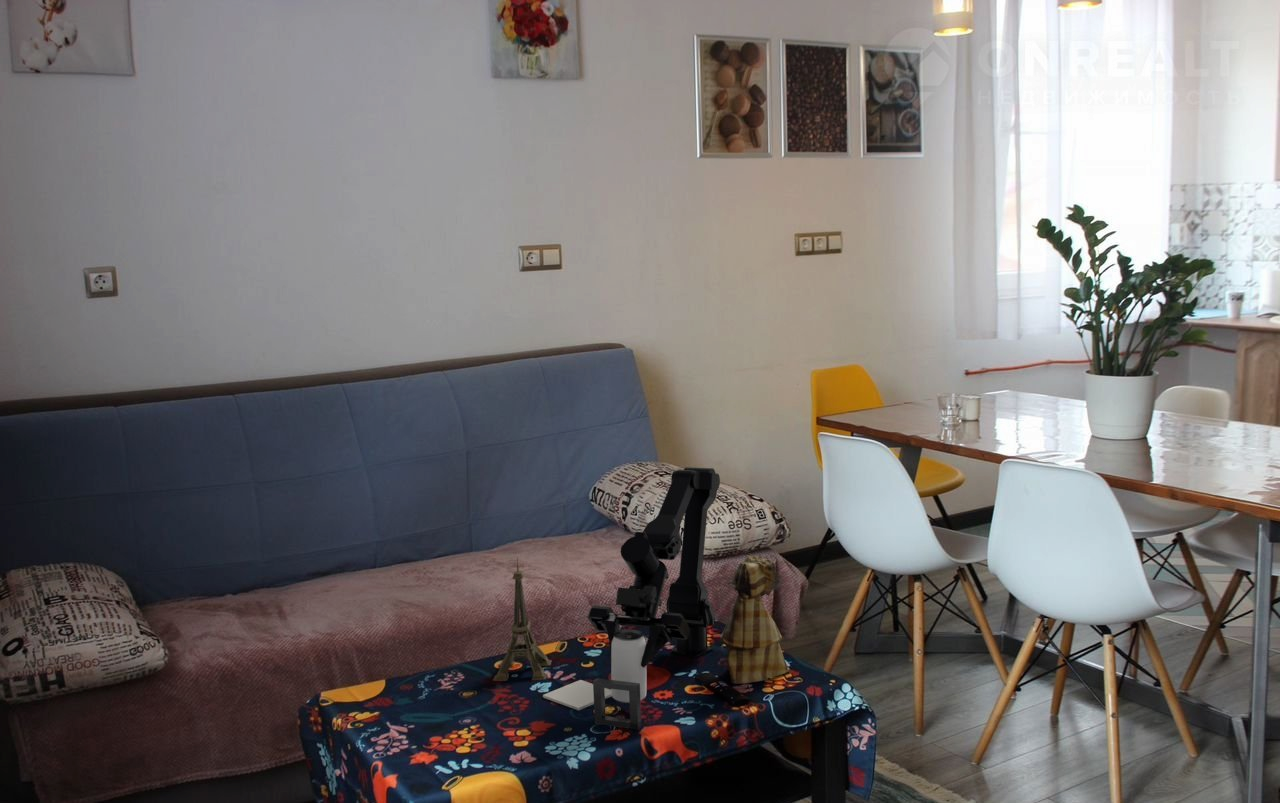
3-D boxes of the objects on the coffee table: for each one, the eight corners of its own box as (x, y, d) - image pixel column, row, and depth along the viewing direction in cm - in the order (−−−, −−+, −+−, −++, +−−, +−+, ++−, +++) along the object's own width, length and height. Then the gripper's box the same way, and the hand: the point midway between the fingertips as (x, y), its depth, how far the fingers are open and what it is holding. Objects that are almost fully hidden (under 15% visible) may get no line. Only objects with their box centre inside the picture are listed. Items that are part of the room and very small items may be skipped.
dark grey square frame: (598, 720, 208) (596, 678, 207) (641, 726, 205) (639, 683, 204) (594, 723, 207) (593, 681, 206) (638, 729, 204) (636, 686, 203)
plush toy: (697, 662, 233) (712, 550, 226) (752, 650, 240) (768, 541, 233) (736, 697, 222) (754, 582, 214) (792, 684, 229) (811, 571, 221)
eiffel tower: (501, 662, 240) (495, 546, 237) (551, 661, 240) (545, 545, 237) (493, 681, 230) (486, 560, 227) (545, 680, 229) (539, 558, 226)
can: (648, 690, 215) (648, 629, 213) (644, 704, 209) (644, 641, 207) (613, 689, 216) (613, 628, 214) (609, 703, 209) (608, 640, 208)
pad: (580, 682, 227) (580, 679, 227) (616, 694, 220) (616, 691, 220) (543, 697, 220) (542, 695, 220) (578, 710, 213) (578, 707, 213)
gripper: (589, 564, 216) (566, 640, 207) (682, 571, 209) (662, 650, 200) (607, 592, 224) (586, 666, 216) (697, 600, 217) (679, 677, 208)
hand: (627, 664), depth 210 cm, fingers closed on can, 6 cm apart
